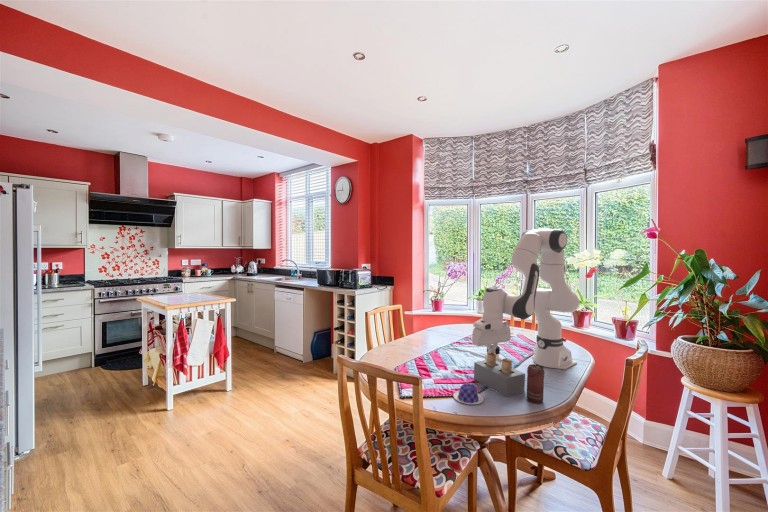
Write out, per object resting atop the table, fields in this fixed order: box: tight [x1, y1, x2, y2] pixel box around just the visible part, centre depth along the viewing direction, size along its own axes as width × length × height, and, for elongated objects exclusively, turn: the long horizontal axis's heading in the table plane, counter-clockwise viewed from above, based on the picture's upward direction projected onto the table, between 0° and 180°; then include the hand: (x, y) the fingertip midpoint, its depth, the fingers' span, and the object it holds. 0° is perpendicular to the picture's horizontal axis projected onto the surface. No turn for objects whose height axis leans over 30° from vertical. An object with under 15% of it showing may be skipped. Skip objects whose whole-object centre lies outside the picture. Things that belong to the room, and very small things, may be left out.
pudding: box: [452, 383, 485, 405], centre depth 135 cm, size 12×12×5 cm
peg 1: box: [486, 351, 496, 367], centre depth 151 cm, size 4×4×8 cm
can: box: [526, 363, 545, 405], centre depth 133 cm, size 6×6×14 cm
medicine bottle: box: [484, 344, 503, 363], centre depth 165 cm, size 7×7×12 cm
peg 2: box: [501, 358, 513, 374], centre depth 142 cm, size 4×4×8 cm
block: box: [473, 359, 526, 398], centre depth 147 cm, size 11×19×8 cm, turn 26°
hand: (491, 352), depth 150 cm, fingers closed
